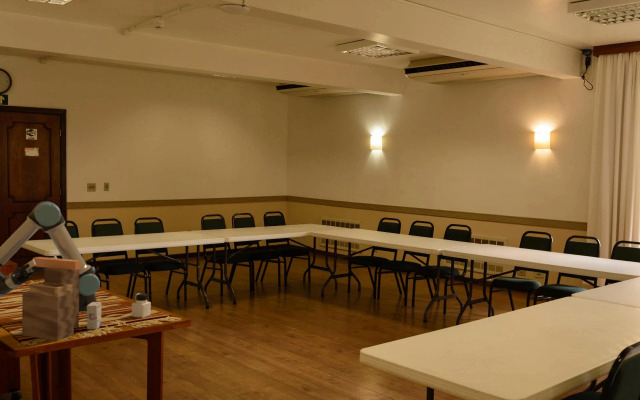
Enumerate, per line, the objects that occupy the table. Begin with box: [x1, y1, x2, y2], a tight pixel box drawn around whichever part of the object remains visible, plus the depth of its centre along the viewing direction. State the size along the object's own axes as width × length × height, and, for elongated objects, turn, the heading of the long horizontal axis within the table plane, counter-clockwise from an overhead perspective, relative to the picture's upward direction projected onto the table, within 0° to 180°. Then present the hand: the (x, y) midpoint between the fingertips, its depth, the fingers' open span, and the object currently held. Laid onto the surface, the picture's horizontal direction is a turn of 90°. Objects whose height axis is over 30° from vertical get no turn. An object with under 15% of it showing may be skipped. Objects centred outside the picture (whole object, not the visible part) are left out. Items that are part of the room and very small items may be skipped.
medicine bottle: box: [131, 292, 152, 319], centre depth 327 cm, size 7×7×12 cm
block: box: [32, 256, 81, 270], centre depth 296 cm, size 4×24×4 cm, turn 75°
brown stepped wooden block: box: [21, 268, 80, 342], centre depth 291 cm, size 22×21×30 cm
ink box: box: [86, 301, 102, 330], centre depth 302 cm, size 9×5×12 cm, turn 5°
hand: (45, 260), depth 298 cm, fingers open, 13 cm apart
